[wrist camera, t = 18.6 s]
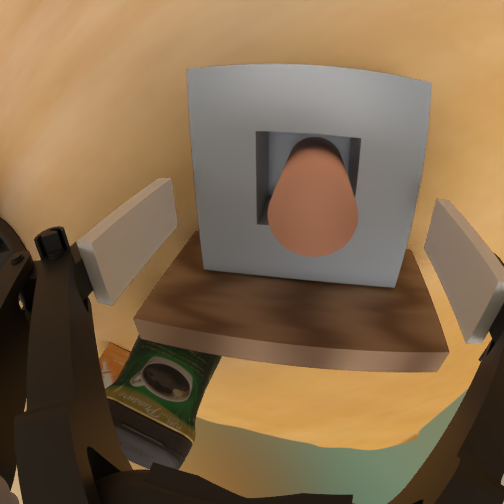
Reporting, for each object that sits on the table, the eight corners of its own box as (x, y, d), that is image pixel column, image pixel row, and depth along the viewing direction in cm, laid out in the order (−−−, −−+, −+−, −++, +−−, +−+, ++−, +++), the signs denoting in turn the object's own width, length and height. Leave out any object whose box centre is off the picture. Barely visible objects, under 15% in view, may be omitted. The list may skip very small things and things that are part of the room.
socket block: (225, 231, 27) (203, 269, 22) (217, 71, 20) (186, 69, 15) (381, 245, 25) (394, 287, 20) (403, 82, 17) (431, 82, 12)
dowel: (289, 134, 21) (268, 169, 12) (344, 139, 20) (364, 178, 11) (287, 185, 23) (266, 252, 14) (339, 190, 22) (350, 261, 14)
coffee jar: (150, 317, 36) (79, 438, 21) (166, 278, 32) (76, 420, 17) (215, 353, 37) (167, 483, 22) (243, 321, 33) (190, 478, 18)
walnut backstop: (198, 249, 29) (141, 338, 19) (196, 230, 28) (133, 318, 18) (405, 268, 25) (437, 371, 15) (411, 250, 24) (449, 352, 14)
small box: (154, 361, 42) (118, 430, 31) (154, 380, 46) (123, 443, 35) (109, 340, 42) (69, 403, 31) (113, 361, 46) (78, 419, 35)
